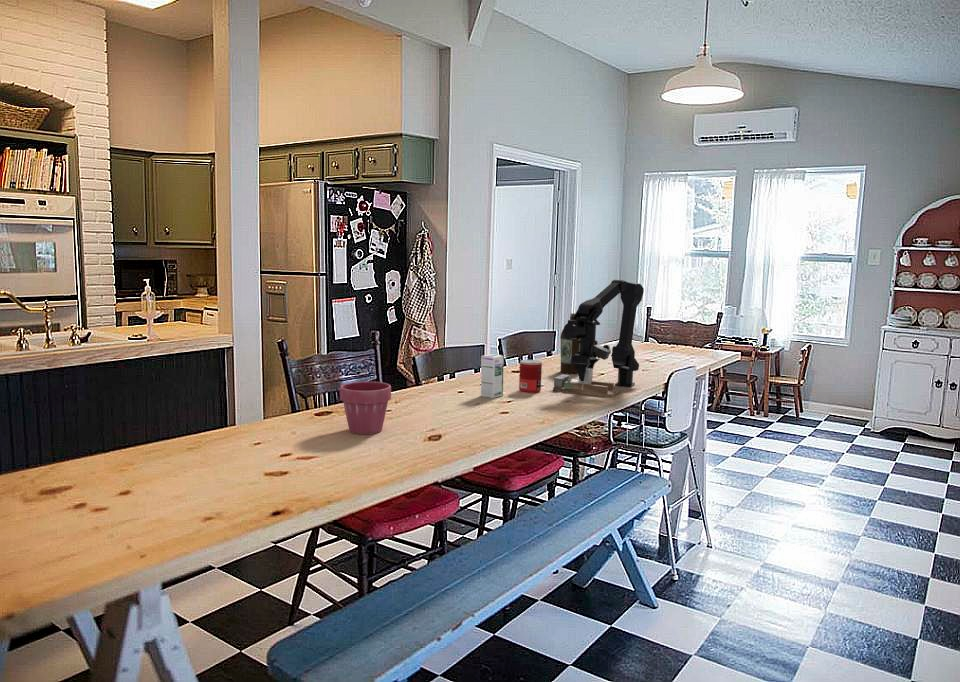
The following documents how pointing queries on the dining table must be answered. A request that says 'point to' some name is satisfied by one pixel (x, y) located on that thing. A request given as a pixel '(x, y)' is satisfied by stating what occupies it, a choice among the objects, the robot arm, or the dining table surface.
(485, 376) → the syrup box
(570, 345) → the olive oil
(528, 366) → the canned food
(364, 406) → the plant pot
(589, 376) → the pale grey cube box
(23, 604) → the dining table surface
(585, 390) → the gauge bench
